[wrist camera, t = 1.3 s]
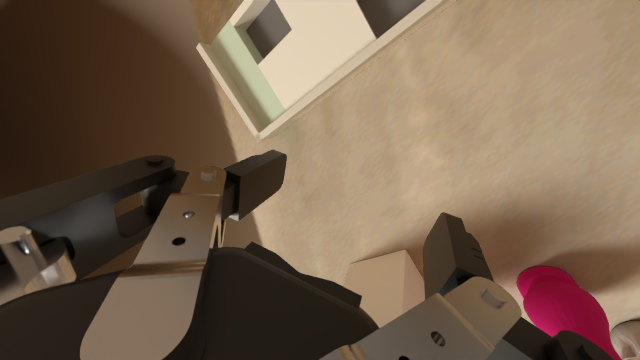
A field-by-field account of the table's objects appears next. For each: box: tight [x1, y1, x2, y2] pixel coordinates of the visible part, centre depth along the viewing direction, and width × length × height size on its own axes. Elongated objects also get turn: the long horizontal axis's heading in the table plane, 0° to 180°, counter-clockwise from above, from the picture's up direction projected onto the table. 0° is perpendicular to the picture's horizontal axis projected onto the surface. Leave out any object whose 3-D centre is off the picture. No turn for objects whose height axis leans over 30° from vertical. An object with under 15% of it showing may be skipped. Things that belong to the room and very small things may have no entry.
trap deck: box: [196, 0, 457, 142], centre depth 28 cm, size 34×16×5 cm, turn 125°
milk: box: [343, 249, 425, 328], centre depth 31 cm, size 12×12×26 cm
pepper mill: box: [517, 266, 622, 360], centre depth 24 cm, size 7×7×20 cm
